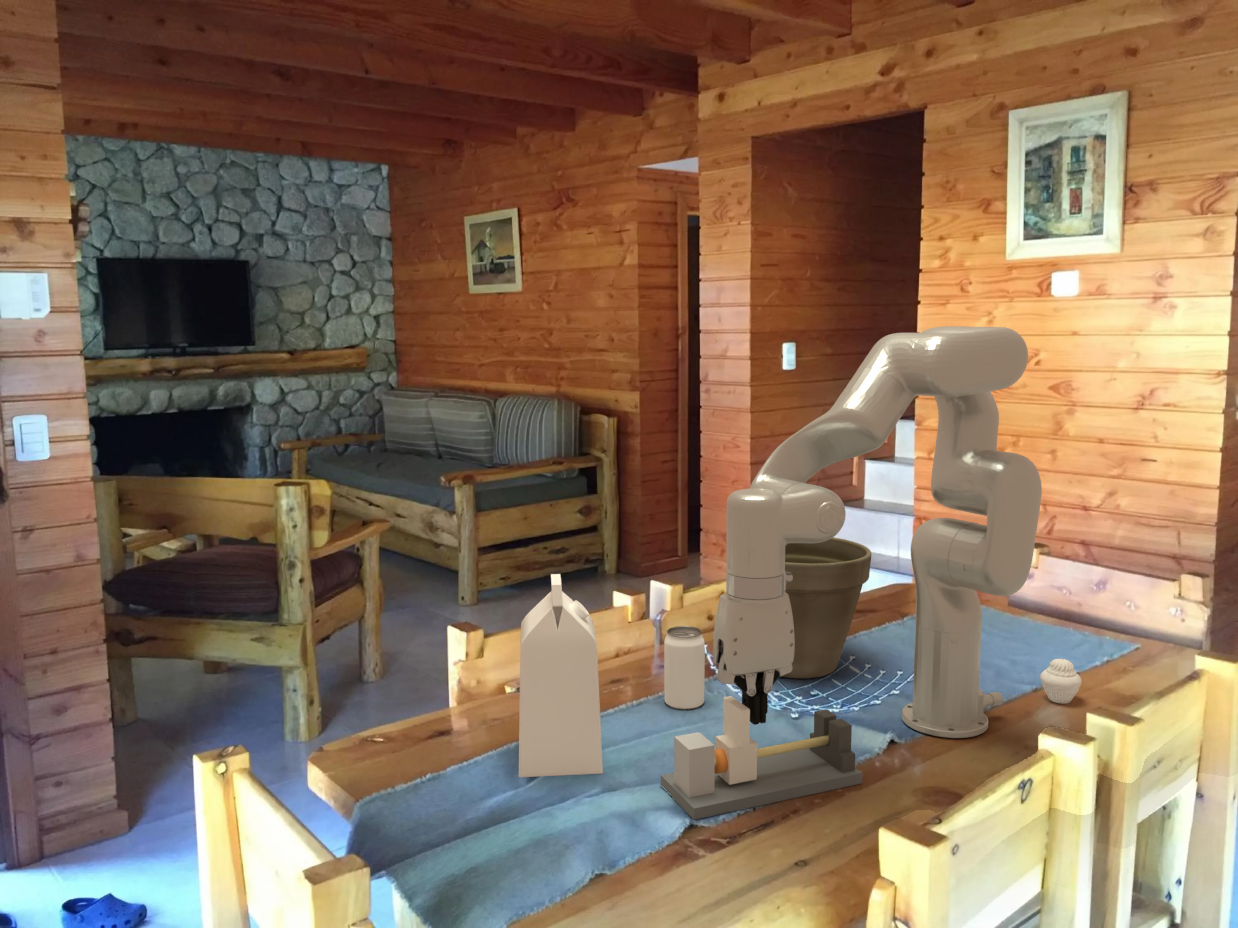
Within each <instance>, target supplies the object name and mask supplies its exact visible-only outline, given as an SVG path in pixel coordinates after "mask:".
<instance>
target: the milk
mask: <svg viewBox="0 0 1238 928" xmlns="http://www.w3.org/2000/svg"><path fill="white" fill-rule="evenodd" d="M550 582H551V583H550V585H551V591H550V592H549V593H547V595H546V596H545V597H543V598H542V599H541V600H540V601H539V602H538V603H537V604H536V605H535V606H534V607H533V608H532V609H530V611H529V612H528V613H527V614H526V615H525V617H523V619H522V620H521V622H520V645H519V652H520V656H519V657H520V658H519V717H518V718H519V719H518V722H519V723H518V725H519V727H518V731H519V733H518V736H519V737H518V778H529V777H530V778H531V777H534V778H535V777H553V776H572V775H573V776H574V775H577V776H578V775H593V774H594V775H596V774H598V775H599V774H604V771H603V770H604V769H603V751H602V750H603V749H602V748H603V747H602V745H603V744H602V728H601V706H600V686H599V685H600V683H599V681H600V680H599V667H598V666H599V661H598V644H597V642H598V641H597V635H596V629H595V624H594V620H593V619H592V617H591V616H590V613H589V611H588V610H587V609H586V607H584V605H583V604H582V603H581V602H579V601H578V600H577V599H576V600H573V599H572V598H571V597H570V596H568V595H567V594H566V593H565V592H564V591H563V588H562V586H563V585H562V577H561V573H556V574H555V573H550Z"/></svg>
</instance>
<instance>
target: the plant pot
mask: <svg viewBox="0 0 1238 928" xmlns="http://www.w3.org/2000/svg"><path fill="white" fill-rule="evenodd" d="M871 562H872V551H871V550H870V548H868V547H867V546H865V545H864V544H861V543H859V542H857V541H853V540H849V539H846V538H845V539H843V538H841V537H840V538H839V537H836V536H834V537H833V538H831V539H829V540H827V541H825V542H821V543H814V544H806V543H789V544H787V545H786V546H785V571H786V572H791V573H792V576H793V580H792V582H788V583H786V590H785V592H786V593H787V594H788V595H789V599H790V604H791V609H792V615H793V623H794V638H795V652H794V660H793V662H792V668H793V669H792V671H791V672H790V673H787V674H785V675H783V676H780V677H782V678H789V679H790V678H791V679H814V678H820V677H826V676H827V675H830V674H832V673H833V672H835V670H836V669H837V667H838V664H839V662H840V659H841V655H842V653H843V650H844V647H845V643H846V640H847V637H848V635H849V634H848V633H849V631H850V629H851V625H852V622H853V619H854V615H855V612H856V609H857V607H858V602H859V599H860V595H861V592H862V589H863V586H864V585H863V584H866V583H867V582H868V581H869V579H870V571H871V565H872V564H871Z"/></svg>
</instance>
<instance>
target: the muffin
mask: <svg viewBox="0 0 1238 928" xmlns="http://www.w3.org/2000/svg"><path fill="white" fill-rule="evenodd" d="M1039 675H1040V676H1039V679H1040V682H1041V687H1043V690H1044V691H1045V694H1046V696H1047V699H1048V700H1049V701H1051V702H1053V703H1055V704H1064V705H1065V704H1069V703H1071V702H1072V700H1073V699H1074V697H1075V696H1076V695H1077V693H1078V692H1079V690H1080V687H1081V685H1082V683H1083V682H1082V678H1081V676H1080V675H1079V674H1078V673H1077V672H1076V670H1075V666H1074V664H1073V663H1072V661H1070V660H1068V659H1065V658H1055V659H1052V660H1051V661H1050V662H1049V666H1047V667H1046V669H1044V670H1043V671H1042V672H1040V674H1039Z"/></svg>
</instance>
